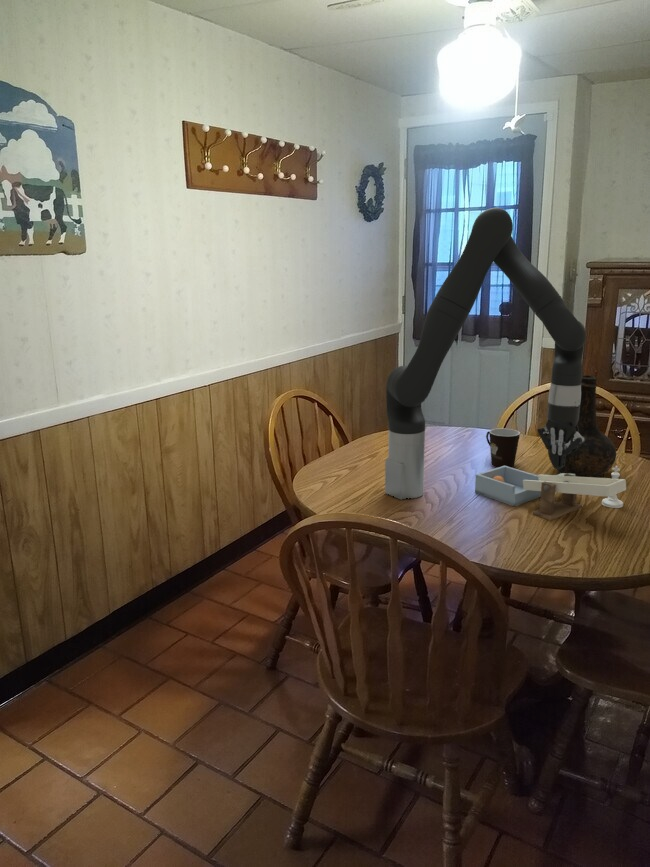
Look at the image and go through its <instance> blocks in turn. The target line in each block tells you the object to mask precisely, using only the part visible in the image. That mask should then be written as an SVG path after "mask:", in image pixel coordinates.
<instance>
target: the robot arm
mask: <svg viewBox="0 0 650 867" xmlns="http://www.w3.org/2000/svg"><path fill="white" fill-rule="evenodd" d="M513 227H514V224H513V220H512V217H511V215H510V214H509V212H508V211H507V210H505V209H503V208H501V207H491V208H488V209H485V210H484V211H482V212H480V213H479V214H478V215H477V217H476V218H475V220H474V223H473V225H472V227H471V232H470V235H469V236H468V240H467V242H466V245H465V246H464V249H463V251H462V253H461V256H460V257H459V259H458V260H457V262H456V264H455V265H454V267H453V268H452V269H451V271H450V272H449V273H448V275H447V277H446V278H445V280H444V281H443V283H442V284H441V286H440V288H439V289H438V291H437V293H436V295H435V296H434V298H433V300H432V302H431V305H430V306H429V308H428V310H427V313H426V316H425V319H424V321H423V326H422V331H421V334H420V339H419V341H418V344H417V345H418V346H417V348H416V350H415V352H414V353H413V356H412V358H411V359H410V361H409V363H408V364H407V365H400V366H397V367H395V368H394V369H392V371H391V372H390V373H389V375H388V376H387V379H386V380H387V381H386V387H385V388H386V390H385V392H386V397H385V398H386V399H385V400H386V401H385V402H386V417H387V422H388V450H387V451H388V453H387V455H388V457H387V458H385V460H384V462H385V464H384V465H385V467H384V469H385V470H384V471H385V473H384V493H385V494H386V495H388V494H389V495H388V496H391V497H393V496H394V498H396V499H398V500H406V498H408V499H409V498H411V499H416V498H420V497H421V496H423V495H424V487H425V486H424V484H425V483H424V481H425V479H424V478H425V448H426V447H425V442H426V440H425V439H426V438H425V437H426V419H425V416H424V414H423V409H422V403H424V402H425V400H426V399H427V398H428V396H429V394H430V393H431V391H432V388H433V385H434V383H435V381H436V378H437V376H438V373H439V371H440V369H441V366H442V364H443V362H444V360H445V358H446V357H447V355H448V352H450V349H451V347H452V345H453V343H454V342H455V340H456V338H457V336H458V335H459V333H460V331H461V329H462V328H463V326H464V325H465V322H466V320H467V319H468V317H469V315H470V313H471V310H472V309H473V307H474V305H475V302H476V300H477V298H478V297H479V296H478V295H479V293H480V291H481V288H482V285H483V283H484V281H485V279H486V276H487V274H488V271H489V269H490V268H491V266H492V265H493V263H494V264H495V265H496V266H497V267H498V268H499V270H500V271H502V273H503V274H504V275H505V276H506V277H507V279H508V280H509V281H510V283H511V284H512V285H513V286H514V288H515V290H517V292H518V293H519V295H520V296H521V297H522V299H523V300H524V302H525V303H526V304H527V305H528V307H529V308H530V309H531V311H532V312H533V313H534V315H535V316H536V317H537V318H538V319H539V320H540V321H541V322H542V324H543V325H544V327H545V329H546V331H547V332H548V334H549V335H550V337H551V338H552V340H553V341H554V352H553V353H554V355H553V356H554V358H553V359H554V360H553V363H552V368H551V377H550V378H551V379H550V386H549V391H548V403H547V410H546V411H547V413H546V419H547V421H546V423H545V426H542V427H540V428H537V433H538V435H539V437H540V440H541V441H542V442H543V444H544V446H545V449H546V450H547V451H548V450H550V451H552V453H553V457H552V463H551V465H552V466H553V468H554V469H556V468H557V469H561V468H563V467H564V466H565V459H566V455H567V454H570V453H573V452H574V451H575V450H576V449H577V448H578V447H579V446H580V445H581V444H583V443H584V442H585V441H586V437H584V436H583V437H582V436H581V435H580V434H579V432H578V431H579V429H578V426H577V423H578V420H579V412H580V402H581V380H582V375H583V355H584V348H585V346H584V345H585V342H586V339H587V332H586V331H587V330H586V328H585V326H584V324H583V323H582V322H581V321H580V320H578V319H577V318H576V316H575V315H574V313H572V312H571V310H570V309H569V308H568V307H567V306H566V303H565V301H564V299H563V298H562V296H561V295H560V293H559V292H558V291H557V290H556V288H555V287H554V286H553V284H552V283H551V282H550V281H549V280H548V278H547V277H546V276H545V275H544V274H543V273H542V271H540V270H539V269H538V268H537V267H536V266H534V264H532V262H530V260H528V259H527V257H526V256H525V255H524V254H523V252H522V251H521V249H520V248H519V247H518V245H517V244H516V242H515V240H514V238H513V236H512V234H513ZM573 437H574V438H573ZM572 438H573V441H574V442H573V443H572V444H571V445H570V441H571V439H572ZM569 445H570V446H569ZM568 446H569V447H568ZM557 469H556V470H557Z"/></svg>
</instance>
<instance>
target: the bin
mask: <svg viewBox="0 0 650 867" xmlns="http://www.w3.org/2000/svg"><path fill="white" fill-rule="evenodd" d="M538 475H539V474H535V473H531V472H528V471H523V470H521V469H517V468H514V467H512V468H511V467H508V466H501V467H498V468H497V467H494V468H492V469H489V470H485V471H482V472H479V473H476V474H475V484H474V493H475V494H478V495H481V496H484V497H485V498H489V499H491V500H492V499H493V500H494V501H498V502H501V503H504V504H507V505H509V506H512V507H517V506H520V505H523V504H525V503H527V502H531V501H533V500H535V499H538V498H541V491H532V490H524V488H523V480H537V481H539V479H538ZM495 476H501V477H502V478H503V479H504V482H501V481H498V480H495V479H493V478H494V477H495Z"/></svg>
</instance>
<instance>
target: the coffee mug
mask: <svg viewBox="0 0 650 867" xmlns="http://www.w3.org/2000/svg"><path fill="white" fill-rule="evenodd" d="M520 435H521V432H520V431H519V430H516V429H512V428H501V427H500V428H493V429H489V431H487V432H486V436H485V437H486V441H487V444H488V446H489V447H490V462H491V464H490V465H491V466H492V467H494V468H498V467H501V466H508V467H511V468H514V467H515V461H516V458H517V457H516V456H517V452H518V446H519V440H520Z"/></svg>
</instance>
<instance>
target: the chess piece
mask: <svg viewBox="0 0 650 867" xmlns="http://www.w3.org/2000/svg"><path fill="white" fill-rule="evenodd" d="M611 470H612V471H614V472H611V473H610V476H611V479H620V476H621V474H620V473H619V472H620V471H621V469H620V468H618V465H615V466H614V467H611ZM617 494H618V493H617ZM617 494H615V495H613V496H610V497H606V498H603V499H602V500H601V505H603V507H606V508H611V509H612V508H613V509H619V508H620V509H621V508H623V507H624V502H623V501H622V500H620V499H619V498H618V496H617Z"/></svg>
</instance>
